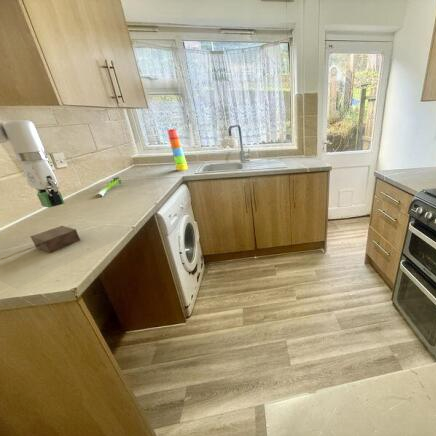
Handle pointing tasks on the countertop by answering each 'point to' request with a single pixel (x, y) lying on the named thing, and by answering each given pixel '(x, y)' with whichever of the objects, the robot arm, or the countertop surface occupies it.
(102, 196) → the leek
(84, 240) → the countertop surface
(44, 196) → the toy block
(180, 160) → the stacking cups
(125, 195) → the countertop surface
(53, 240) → the walnut block
